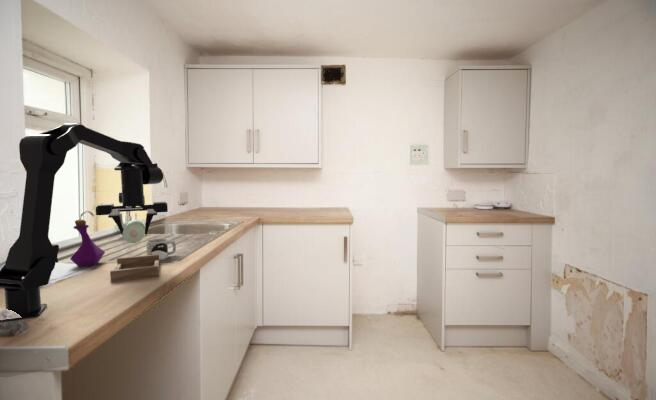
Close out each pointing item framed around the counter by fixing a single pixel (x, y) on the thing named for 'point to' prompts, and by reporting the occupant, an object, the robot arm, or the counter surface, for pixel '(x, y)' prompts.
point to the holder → (138, 272)
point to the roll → (134, 231)
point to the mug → (160, 248)
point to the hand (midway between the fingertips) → (135, 235)
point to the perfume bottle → (86, 246)
